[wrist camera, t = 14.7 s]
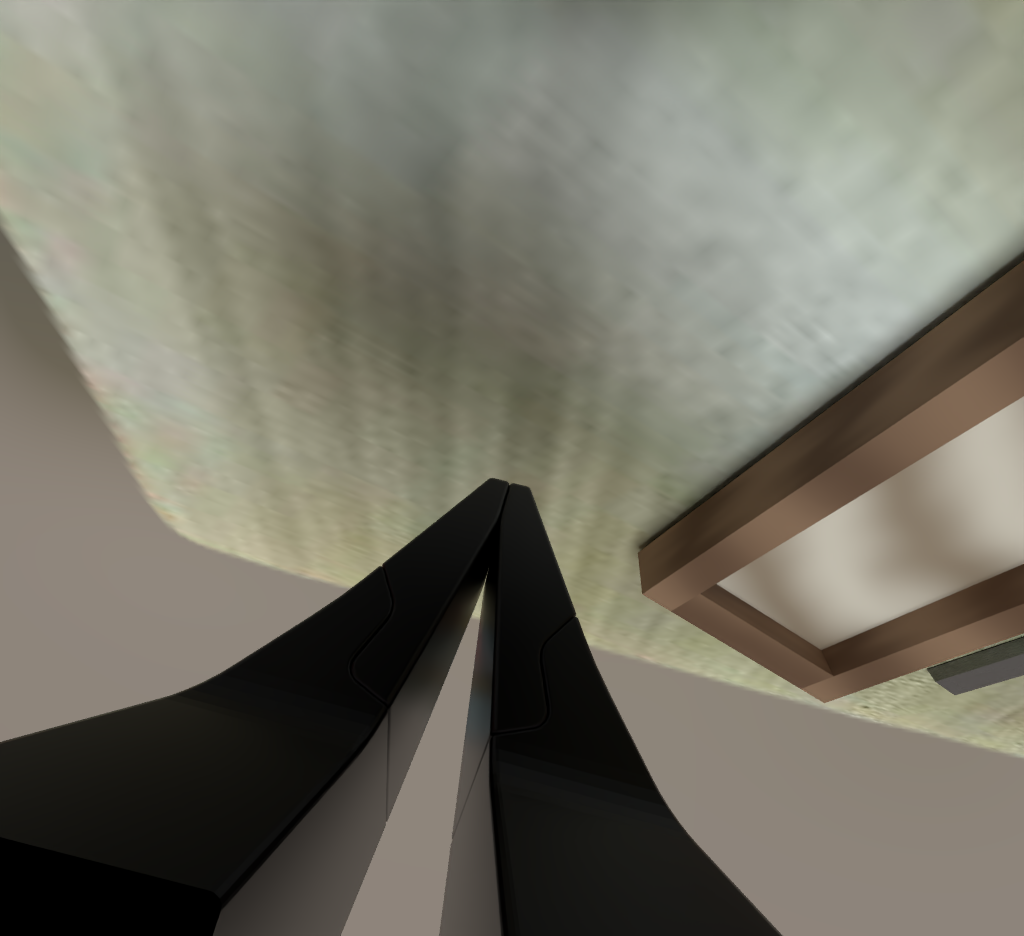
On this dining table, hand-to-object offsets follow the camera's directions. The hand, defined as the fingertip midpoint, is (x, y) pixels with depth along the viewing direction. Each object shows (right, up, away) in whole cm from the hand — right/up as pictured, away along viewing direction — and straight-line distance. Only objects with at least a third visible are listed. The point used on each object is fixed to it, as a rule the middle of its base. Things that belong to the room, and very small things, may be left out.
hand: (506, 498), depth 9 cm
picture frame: (+20, -2, +11) cm, 23 cm away
